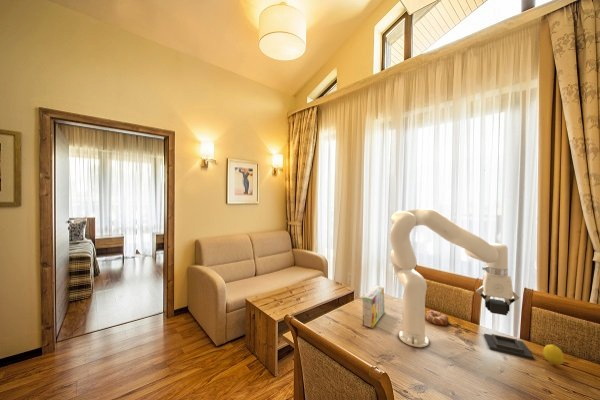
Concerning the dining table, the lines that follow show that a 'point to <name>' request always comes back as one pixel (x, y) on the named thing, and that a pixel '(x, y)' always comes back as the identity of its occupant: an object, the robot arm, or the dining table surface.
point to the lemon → (553, 354)
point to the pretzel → (436, 318)
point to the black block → (498, 307)
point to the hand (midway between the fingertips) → (497, 310)
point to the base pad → (508, 345)
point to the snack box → (373, 306)
